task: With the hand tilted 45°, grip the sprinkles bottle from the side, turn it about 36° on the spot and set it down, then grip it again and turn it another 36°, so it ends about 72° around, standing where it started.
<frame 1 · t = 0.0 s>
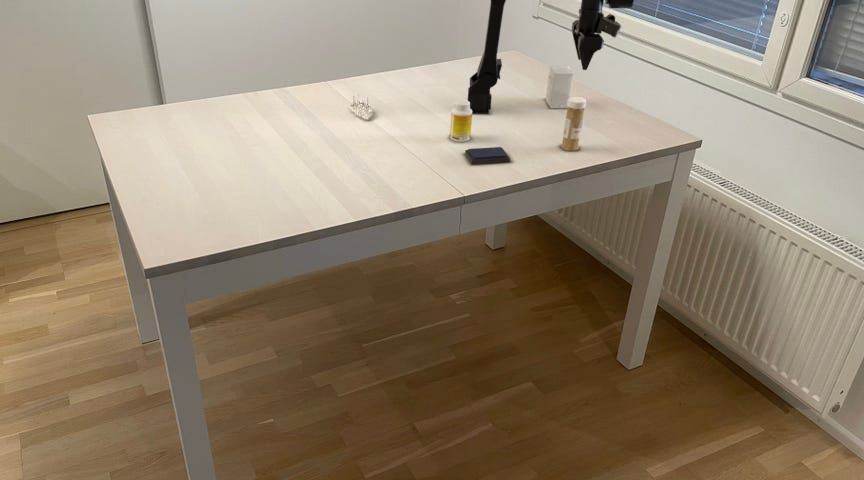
hand: (582, 64, 203), 15 cm above the table, tool pointing down, fingers open, 9 cm apart
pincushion: (360, 114, 210), on the table
supplement bottle: (459, 139, 196), on the table
sprinkles bottle: (569, 148, 191), on the table
small box: (556, 104, 219), on the table
ink pad: (486, 158, 185), on the table
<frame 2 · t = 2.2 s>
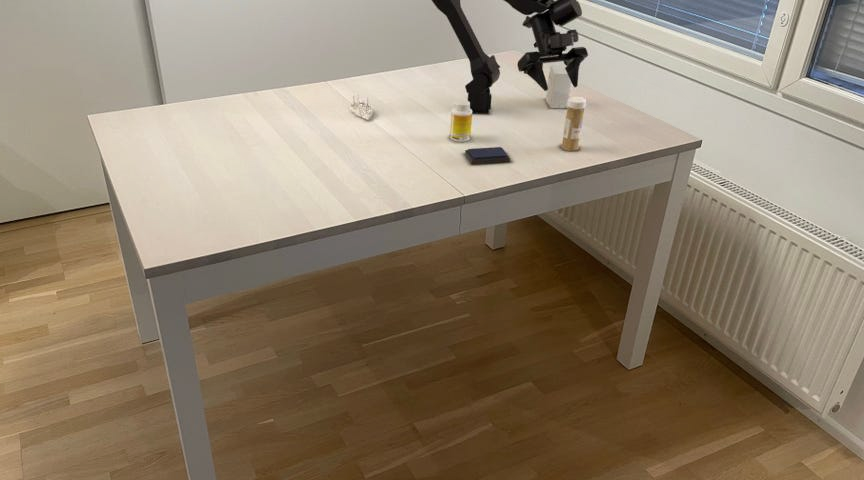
hand: (561, 88, 190), 13 cm above the table, tool tilted 45°, fingers open, 9 cm apart
nothing on the table moved.
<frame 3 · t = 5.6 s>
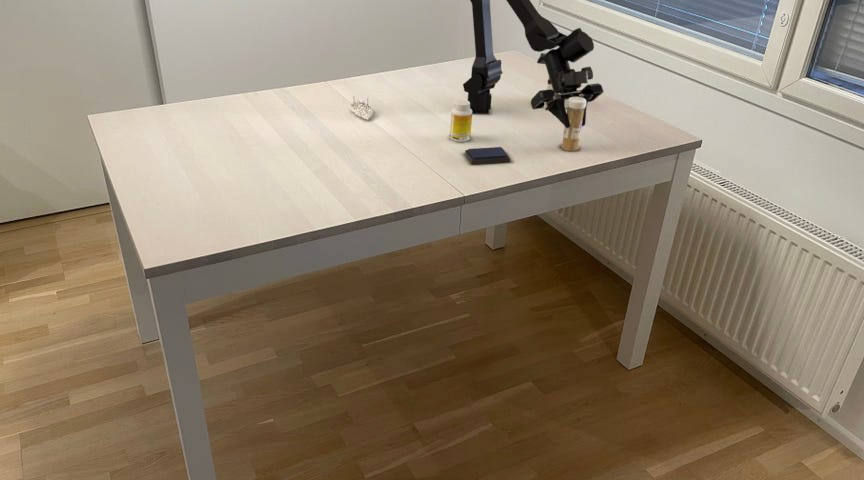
hand: (576, 126, 186), 7 cm above the table, tool tilted 45°, fingers closed on sprinkles bottle, 4 cm apart
sprinkles bottle: (569, 148, 191), on the table, touching gripper
everything else where it was.
when the fingers open (7 cm above the table, at t = 7.4 s): sprinkles bottle stays where it is, on the table.
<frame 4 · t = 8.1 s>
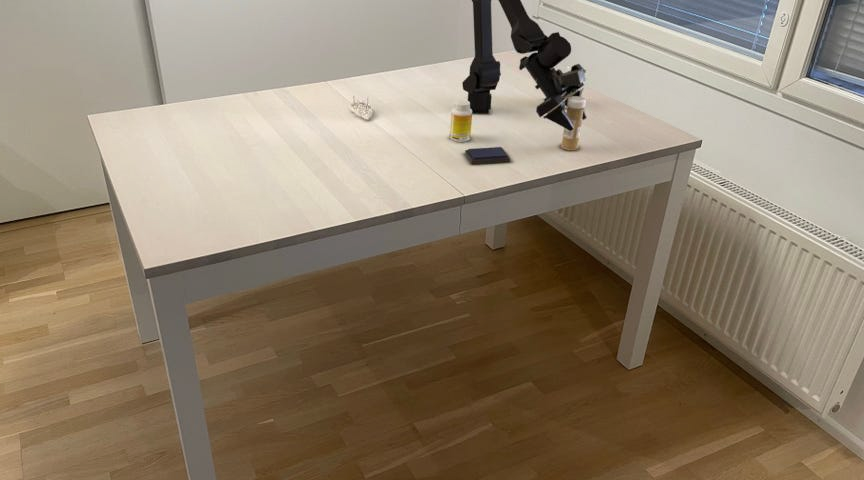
hand: (578, 124, 187), 7 cm above the table, tool tilted 45°, fingers open, 9 cm apart
sprinkles bottle: (569, 148, 191), on the table
everything else where it was.
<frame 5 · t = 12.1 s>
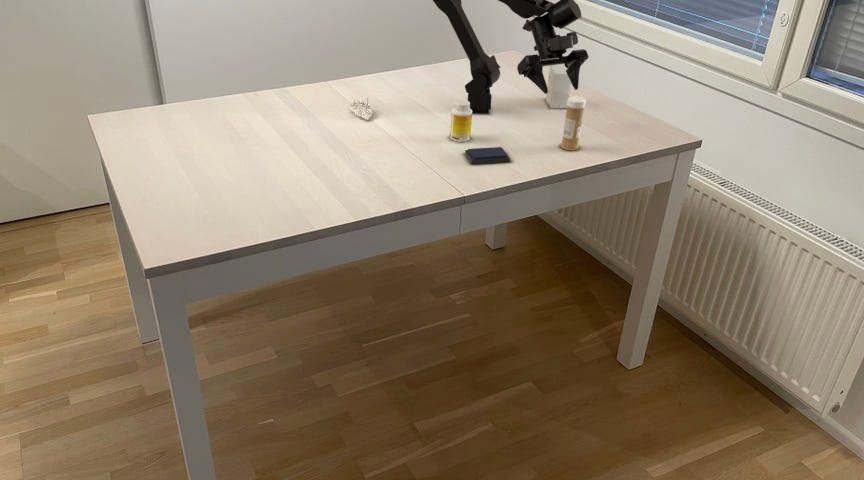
hand: (561, 91, 190), 13 cm above the table, tool tilted 45°, fingers open, 9 cm apart
nothing on the table moved.
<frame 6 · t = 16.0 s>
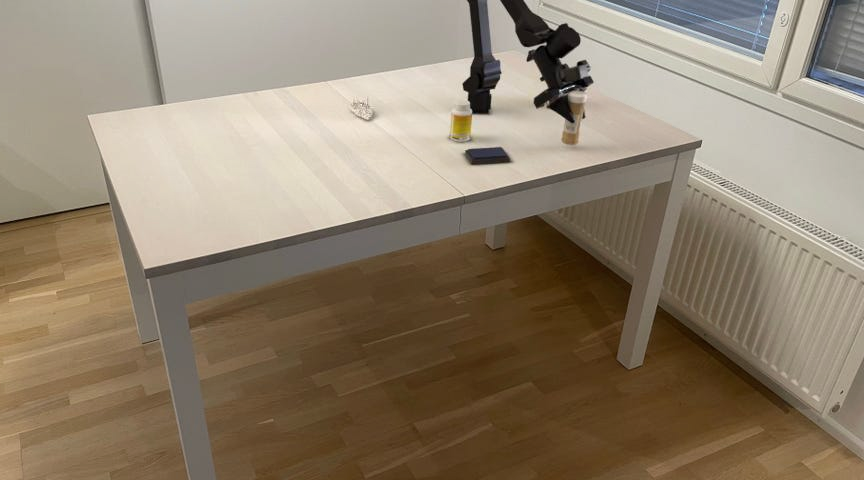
hand: (579, 120, 186), 8 cm above the table, tool tilted 45°, fingers closed on sprinkles bottle, 4 cm apart
sprinkles bottle: (569, 142, 191), point 1 cm above the table, touching gripper
everything else where it was.
when the fingers open (7 cm above the table, at t = 16.8 s): sprinkles bottle stays where it is, on the table.
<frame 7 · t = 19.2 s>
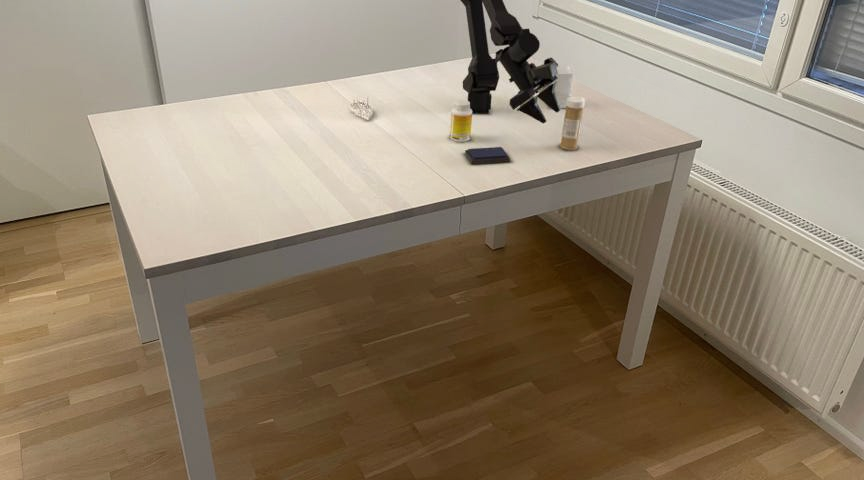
hand: (551, 116, 190), 7 cm above the table, tool tilted 45°, fingers open, 9 cm apart
sprinkles bottle: (568, 148, 191), on the table
everything else where it was.
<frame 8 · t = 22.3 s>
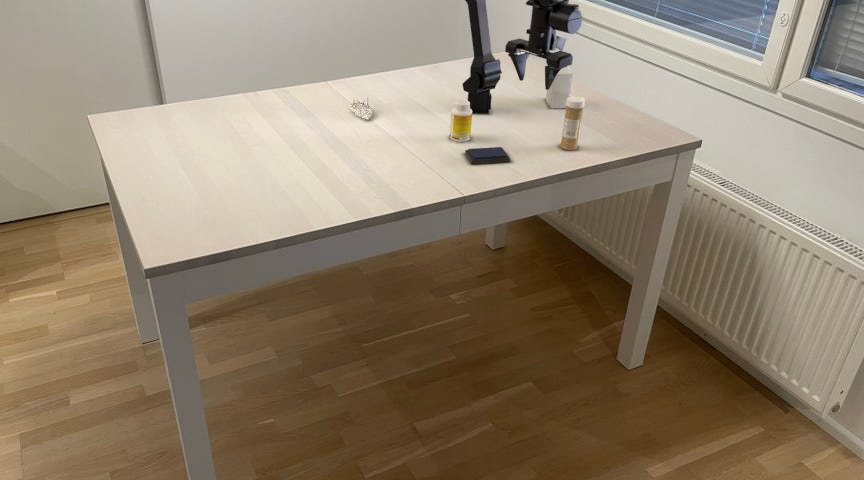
hand: (534, 84, 194), 13 cm above the table, tool pointing down, fingers open, 9 cm apart
nothing on the table moved.
at the end: sprinkles bottle 0.5 cm from the target spot, on the table; sprinkles bottle tilted 0°; the gripper is holding nothing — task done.
